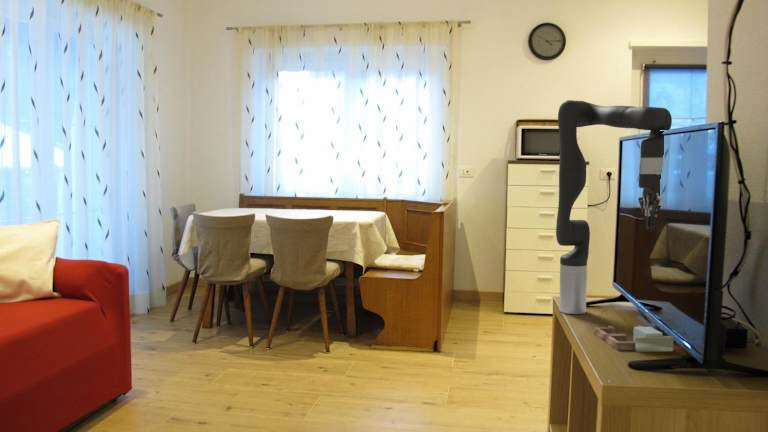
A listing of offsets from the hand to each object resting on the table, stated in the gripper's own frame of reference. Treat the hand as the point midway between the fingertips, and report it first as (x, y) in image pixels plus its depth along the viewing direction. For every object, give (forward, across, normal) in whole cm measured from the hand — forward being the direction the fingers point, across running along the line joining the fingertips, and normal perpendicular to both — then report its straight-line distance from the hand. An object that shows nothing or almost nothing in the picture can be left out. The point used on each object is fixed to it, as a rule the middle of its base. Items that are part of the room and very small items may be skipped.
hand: (650, 228), depth 184 cm
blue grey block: (+33, +14, -7) cm, 37 cm away
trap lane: (+33, +9, -9) cm, 36 cm away
